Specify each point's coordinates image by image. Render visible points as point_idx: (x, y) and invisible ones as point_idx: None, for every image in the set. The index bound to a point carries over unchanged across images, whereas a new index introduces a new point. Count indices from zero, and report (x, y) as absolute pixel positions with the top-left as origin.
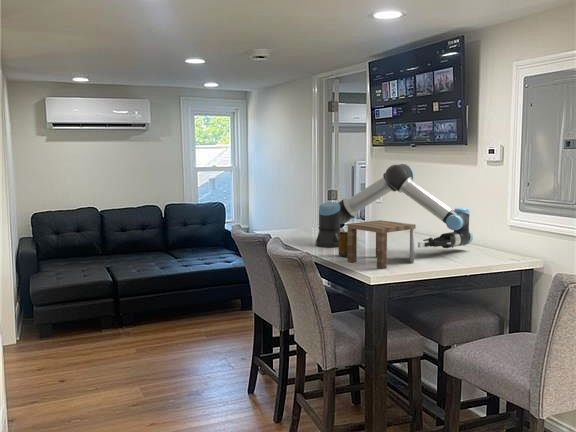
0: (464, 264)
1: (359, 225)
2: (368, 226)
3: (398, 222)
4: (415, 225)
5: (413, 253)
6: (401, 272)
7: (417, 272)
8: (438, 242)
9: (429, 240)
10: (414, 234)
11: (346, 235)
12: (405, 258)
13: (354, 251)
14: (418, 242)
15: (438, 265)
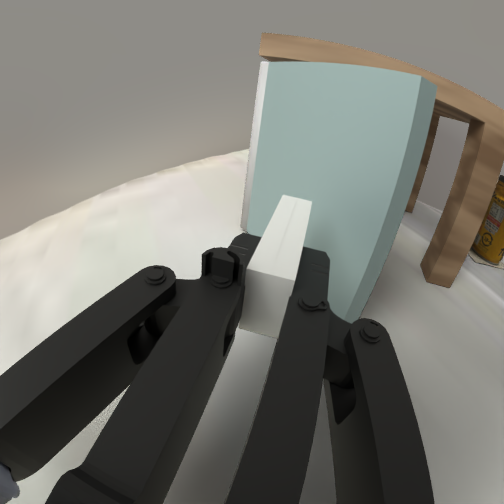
0: (4, 276)
1: None
2: None
3: (395, 59)
4: (261, 37)
5: (245, 183)
6: (218, 163)
7: (180, 168)
8: (99, 313)
9: (282, 346)
10: (258, 86)
11: (497, 182)
12: None
13: None
14: (303, 202)
15: (122, 230)
